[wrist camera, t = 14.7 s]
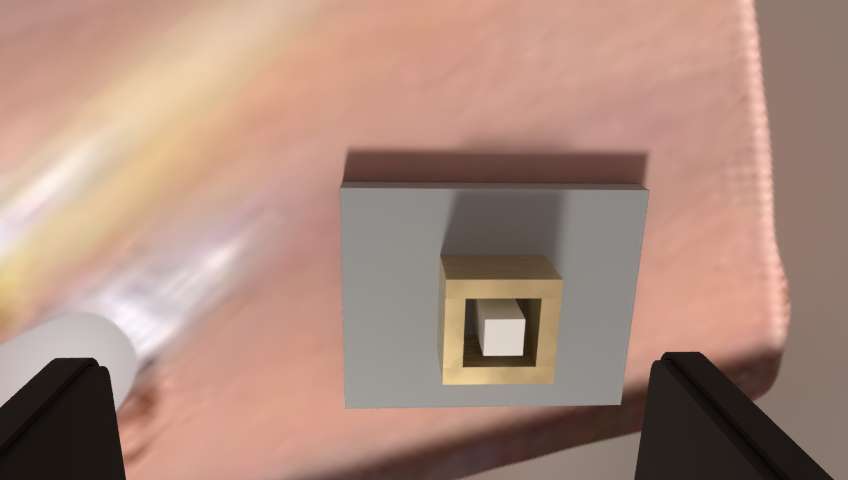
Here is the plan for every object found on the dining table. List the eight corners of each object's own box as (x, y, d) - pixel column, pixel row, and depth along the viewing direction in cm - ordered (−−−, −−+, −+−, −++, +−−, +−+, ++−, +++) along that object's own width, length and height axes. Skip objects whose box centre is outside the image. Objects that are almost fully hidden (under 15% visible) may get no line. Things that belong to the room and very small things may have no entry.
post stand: (342, 181, 40) (333, 207, 33) (637, 183, 41) (685, 209, 34) (346, 393, 44) (339, 453, 38) (610, 389, 46) (648, 447, 39)
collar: (439, 255, 39) (446, 279, 35) (544, 255, 40) (563, 279, 36) (436, 350, 41) (442, 384, 37) (536, 349, 42) (553, 383, 38)
